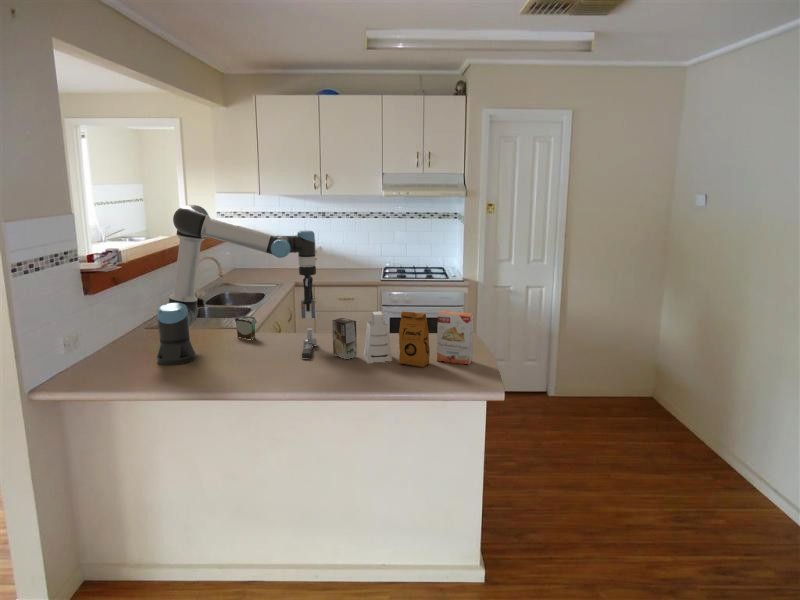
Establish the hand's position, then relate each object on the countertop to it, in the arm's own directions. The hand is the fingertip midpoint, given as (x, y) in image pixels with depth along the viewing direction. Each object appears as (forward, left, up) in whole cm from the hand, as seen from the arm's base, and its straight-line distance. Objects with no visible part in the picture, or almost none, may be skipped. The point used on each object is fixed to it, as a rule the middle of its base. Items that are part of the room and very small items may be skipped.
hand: (309, 316), depth 253 cm
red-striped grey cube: (0, 0, 0) cm, 0 cm away
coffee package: (-29, -45, -14) cm, 56 cm away
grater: (-21, -30, -14) cm, 40 cm away
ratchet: (-8, 0, -14) cm, 16 cm away
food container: (+16, +31, -14) cm, 37 cm away
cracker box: (-27, -62, -14) cm, 70 cm away
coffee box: (-17, -16, -14) cm, 28 cm away
